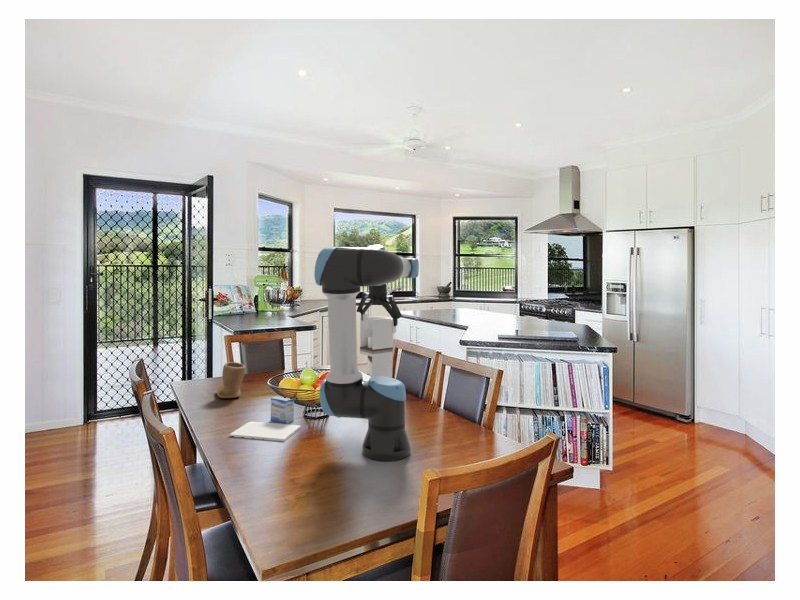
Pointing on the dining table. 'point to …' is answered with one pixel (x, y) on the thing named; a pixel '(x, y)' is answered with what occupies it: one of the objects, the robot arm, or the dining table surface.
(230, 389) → the tan boot
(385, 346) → the display case
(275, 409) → the medicine box
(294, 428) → the cutting board
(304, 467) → the dining table surface
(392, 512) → the dining table surface
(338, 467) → the dining table surface
